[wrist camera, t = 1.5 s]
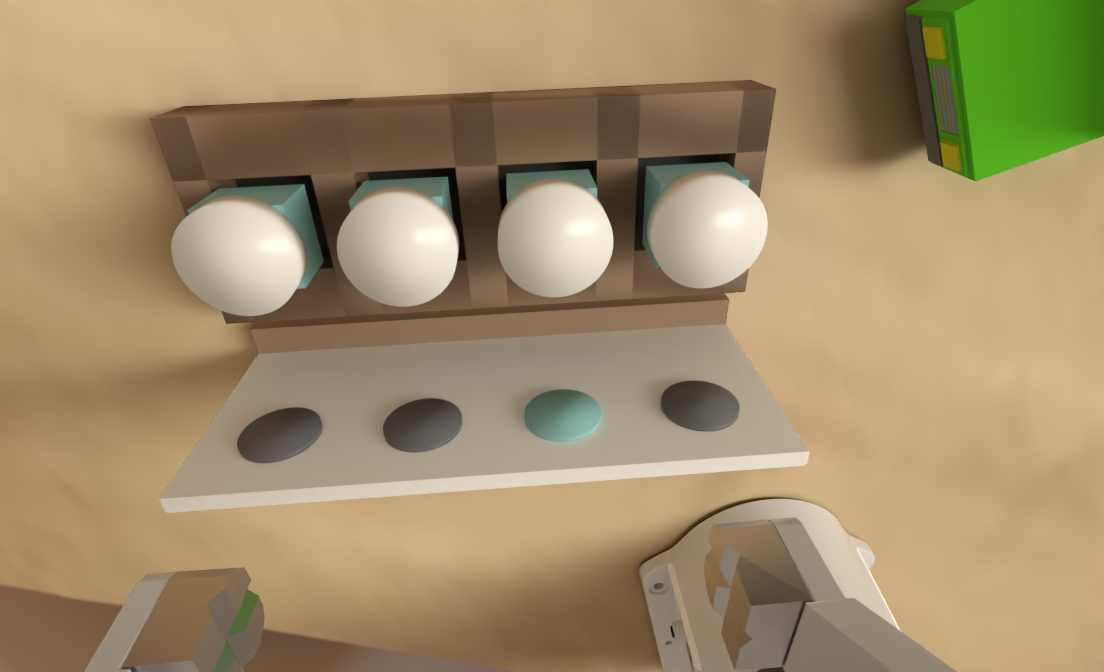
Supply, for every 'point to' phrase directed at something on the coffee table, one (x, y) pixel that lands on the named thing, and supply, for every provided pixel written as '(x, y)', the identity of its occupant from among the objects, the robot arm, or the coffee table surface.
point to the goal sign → (486, 404)
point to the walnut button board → (472, 171)
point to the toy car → (1006, 79)
